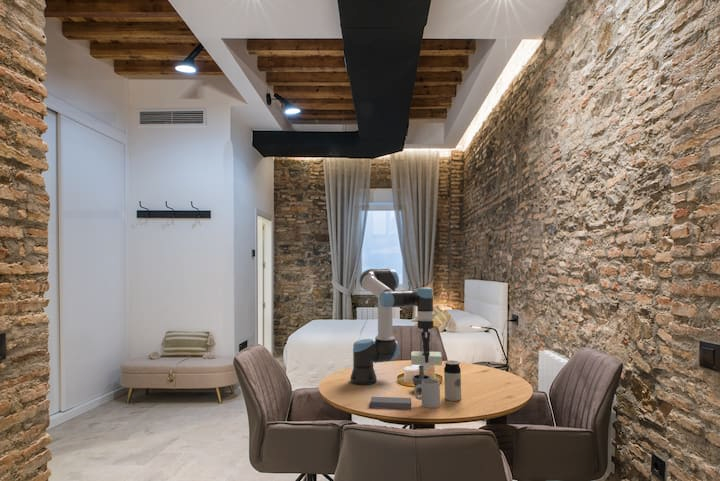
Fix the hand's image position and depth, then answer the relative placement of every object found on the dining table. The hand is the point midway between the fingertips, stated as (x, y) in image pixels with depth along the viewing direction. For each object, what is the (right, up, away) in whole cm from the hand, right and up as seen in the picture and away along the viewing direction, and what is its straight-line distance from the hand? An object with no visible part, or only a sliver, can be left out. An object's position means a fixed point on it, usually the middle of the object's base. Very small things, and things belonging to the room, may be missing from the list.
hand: (426, 366), depth 193 cm
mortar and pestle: (+1, -20, +24) cm, 31 cm away
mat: (-17, -18, -1) cm, 25 cm away
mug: (0, -18, -1) cm, 18 cm away
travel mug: (+15, -19, +8) cm, 25 cm away
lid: (0, +2, 0) cm, 2 cm away
